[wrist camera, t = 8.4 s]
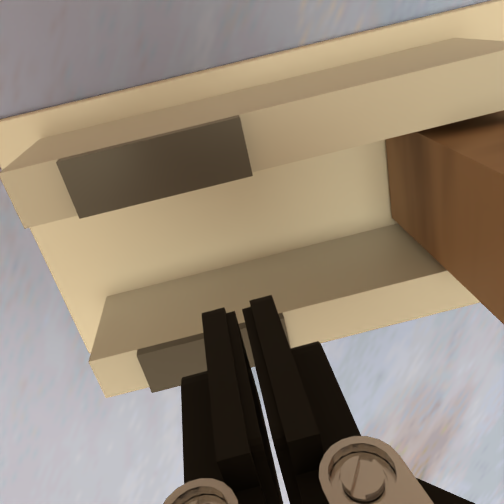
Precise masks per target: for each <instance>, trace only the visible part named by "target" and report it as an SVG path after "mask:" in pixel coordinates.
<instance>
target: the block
mask: <svg viewBox="0 0 504 504" xmlns="http://www.w3.org/2000/svg"><path fill="white" fill-rule="evenodd" d="M386 151H387V164H388V176H389V189H390V201H391V214H392V218H393V219H394V220H395V221H396V222H397V223H398V224H399V225H400V226H401V227H402V228H403V229H404V230H405V231H406V232H407V233H409V234H410V235H411V236H412V237H413V238H414V239H415V240H416V241H417V242H418V243H419V244H420V245H421V246H422V247H423V248H424V249H425V250H426V251H427V252H428V253H429V254H431V255H432V256H433V257H434V258H435V259H436V260H437V261H438V262H439V263H440V264H441V265H442V266H443V267H444V268H445V269H446V270H447V271H448V272H449V273H450V274H452V275H453V276H454V277H455V278H456V279H457V280H458V281H459V282H460V283H461V284H462V285H463V286H464V287H465V288H466V289H467V290H468V291H469V292H470V293H471V294H472V295H474V296H475V297H476V298H477V299H478V300H479V301H480V302H481V303H482V304H483V305H484V306H485V307H486V308H487V309H488V310H489V311H490V312H491V313H492V314H493V315H495V316H496V317H497V318H498V319H499V320H500V321H501V322H502V323H503V324H504V110H502V111H498V112H494V113H490V114H486V115H482V116H478V117H474V118H470V119H466V120H462V121H458V122H454V123H450V124H446V125H442V126H438V127H434V128H430V129H426V130H422V131H418V132H413V133H409V134H405V135H401V136H397V137H393V138H389V139H386Z"/></svg>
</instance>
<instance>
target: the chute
mask: <svg viewBox="0 0 504 504" xmlns="http://www.w3.org/2000/svg"><path fill="white" fill-rule="evenodd" d="M502 110H504V0H491V1H487V2H483V3H479V4H475V5H470V6H466V7H462V8H458V9H454V10H450V11H446V12H442V13H437V14H433V15H429V16H425V17H421V18H417V19H413V20H408V21H404V22H400V23H396V24H392V25H388V26H384V27H380V28H375V29H371V30H367V31H363V32H359V33H355V34H351V35H347V36H342V37H338V38H334V39H330V40H326V41H322V42H318V43H313V44H309V45H305V46H301V47H297V48H293V49H289V50H285V51H280V52H276V53H272V54H268V55H264V56H260V57H256V58H252V59H247V60H243V61H239V62H235V63H231V64H227V65H223V66H218V67H214V68H210V69H206V70H202V71H198V72H194V73H190V74H185V75H181V76H177V77H173V78H169V79H165V80H161V81H157V82H152V83H148V84H144V85H140V86H136V87H132V88H128V89H123V90H119V91H115V92H111V93H107V94H103V95H99V96H95V97H90V98H86V99H82V100H78V101H74V102H70V103H66V104H62V105H57V106H53V107H49V108H45V109H41V110H37V111H33V112H28V113H24V114H20V115H16V116H12V117H8V118H4V119H0V166H1V168H2V171H1V172H0V179H1V181H2V183H3V185H4V187H5V189H6V191H7V193H8V195H9V197H10V199H11V201H12V203H13V206H14V208H15V210H16V212H17V214H18V216H19V218H20V220H21V222H22V224H23V226H24V228H29V227H30V230H31V232H32V234H33V236H34V238H35V240H36V242H37V244H38V246H39V248H40V251H41V253H42V255H43V257H44V259H45V261H46V263H47V265H48V267H49V270H50V272H51V274H52V276H53V278H54V280H55V282H56V284H57V286H58V289H59V291H60V293H61V295H62V297H63V299H64V301H65V303H66V305H67V307H68V310H69V312H70V314H71V316H72V318H73V320H74V322H75V324H76V326H77V329H78V331H79V333H80V335H81V337H82V339H83V341H84V343H85V345H86V347H87V350H88V352H89V353H91V355H90V359H89V364H90V366H91V368H92V370H93V372H94V374H95V376H96V378H97V380H98V382H99V384H100V387H101V389H102V391H103V393H104V395H105V397H106V398H108V397H112V396H116V395H120V394H124V393H128V392H132V391H136V390H139V389H143V388H147V387H150V389H151V392H152V393H153V392H157V391H161V390H165V389H169V388H173V387H177V386H181V379H182V377H186V376H190V375H193V374H197V373H201V372H204V371H207V363H206V354H205V344H204V334H203V325H202V313H204V312H208V311H212V310H215V309H219V308H223V307H224V308H225V310H226V313H229V312H232V311H235V313H236V317H237V320H238V324H239V328H240V331H241V335H242V338H243V342H244V345H245V349H246V353H247V356H248V360H249V363H250V367H255V363H254V359H253V354H252V350H251V346H250V342H249V337H248V333H247V329H246V325H245V320H244V316H243V312H242V309H244V308H248V307H251V306H250V302H249V301H250V300H253V299H257V298H261V297H265V296H269V295H272V297H273V300H274V303H275V306H276V309H277V312H278V314H279V317H280V320H281V323H282V326H283V329H284V332H285V335H286V337H287V340H288V343H289V346H290V348H294V347H298V346H302V345H305V344H309V343H313V342H317V341H319V342H320V343H323V342H327V341H331V340H335V339H339V338H343V337H347V336H350V335H354V334H358V333H362V332H366V331H370V330H374V329H378V328H382V327H386V326H390V325H393V324H397V323H401V322H405V321H409V320H413V319H417V318H421V317H425V316H429V315H433V314H436V313H440V312H444V311H448V310H452V309H456V308H460V307H464V306H468V305H472V304H475V303H479V302H480V301H479V300H478V299H477V298H476V297H475V296H474V295H472V294H471V293H470V292H469V291H468V290H467V289H466V288H465V287H464V286H463V285H462V284H461V283H460V282H459V281H458V280H457V279H456V278H455V277H454V276H453V275H452V274H450V273H449V272H448V271H447V270H446V269H445V268H444V267H443V266H442V265H441V264H440V263H439V262H438V261H437V260H436V259H435V258H434V257H433V256H432V255H431V254H429V253H428V252H427V251H426V250H425V249H424V248H423V247H422V246H421V245H420V244H419V243H418V242H417V241H416V240H415V239H414V238H413V237H412V236H411V235H410V234H409V233H407V232H406V231H405V230H404V229H403V228H402V227H401V226H400V225H399V224H398V223H397V222H396V221H395V220H394V219H393V218H392V214H391V201H390V189H389V176H388V164H387V151H386V139H389V138H393V137H397V136H401V135H405V134H409V133H413V132H418V131H422V130H426V129H430V128H434V127H438V126H442V125H446V124H450V123H454V122H458V121H462V120H466V119H470V118H474V117H478V116H482V115H486V114H490V113H494V112H498V111H502Z"/></svg>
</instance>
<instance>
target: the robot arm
mask: <svg viewBox="0 0 504 504" xmlns="http://www.w3.org/2000/svg"><path fill="white" fill-rule="evenodd" d="M249 302H250V306H251V307H248V308H244V309H242V312H243V316H244V320H245V325H246V329H247V333H248V337H249V342H250V346H251V350H252V354H253V359H254V363H255V367H256V371H257V376H258V380H259V384H260V388H261V393H262V397H263V401H264V405H265V410H266V414H267V418H268V422H269V427H270V431H271V435H272V439H273V443H274V447H275V451H276V454H277V458H278V462H279V465H280V469H281V473H282V476H283V480H284V483H285V487H286V491H287V494H288V498H289V501H290V504H475V503H473V502H470V501H468V500H466V499H463V498H461V497H459V496H457V495H454V494H452V493H450V492H447V491H445V490H443V489H441V488H438V487H436V486H434V485H431V484H429V483H427V482H425V481H422V480H420V479H418V478H415V476H414V475H413V473H412V472H411V471H410V469H409V468H408V466H407V465H406V464H405V462H404V461H403V459H402V458H401V456H400V455H399V454H398V453H397V452H396V451H395V450H394V449H393V448H392V447H391V446H390V445H388V444H386V443H385V442H383V441H381V440H379V439H376V438H372V437H368V436H361V435H360V432H359V430H358V428H357V425H356V423H355V421H354V419H353V416H352V414H351V412H350V409H349V407H348V405H347V403H346V400H345V398H344V396H343V394H342V391H341V389H340V387H339V384H338V382H337V380H336V378H335V375H334V373H333V371H332V368H331V366H330V364H329V362H328V359H327V357H326V355H325V352H324V350H323V348H322V346H321V344H320V342H319V341H317V342H313V343H309V344H305V345H302V346H298V347H294V348H290V346H289V343H288V340H287V337H286V335H285V332H284V329H283V326H282V323H281V320H280V317H279V314H278V312H277V309H276V306H275V303H274V300H273V297H272V295H269V296H265V297H261V298H257V299H253V300H250V301H249ZM202 325H203V334H204V344H205V354H206V363H207V371H204V372H201V373H197V374H193V375H190V376H186V377H182V379H181V399H182V429H183V460H184V485H182V486H180V487H178V488H177V489H176V490H175V491H174V492H173V493H172V494H171V495H169V496H168V497H167V498H166V500H165V502H164V503H163V504H283V501H282V496H281V492H280V488H279V483H278V479H277V474H276V470H275V465H274V461H273V457H272V452H271V448H270V443H269V439H268V435H267V430H266V426H265V421H264V417H263V412H262V408H261V404H260V400H259V396H258V392H257V388H256V385H255V381H254V378H253V374H252V371H251V367H250V363H249V360H248V356H247V353H246V349H245V345H244V342H243V338H242V335H241V331H240V328H239V324H238V320H237V317H236V313H235V311H232V312H229V313H226V310H225V308H224V307H223V308H219V309H215V310H212V311H208V312H204V313H202Z"/></svg>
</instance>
